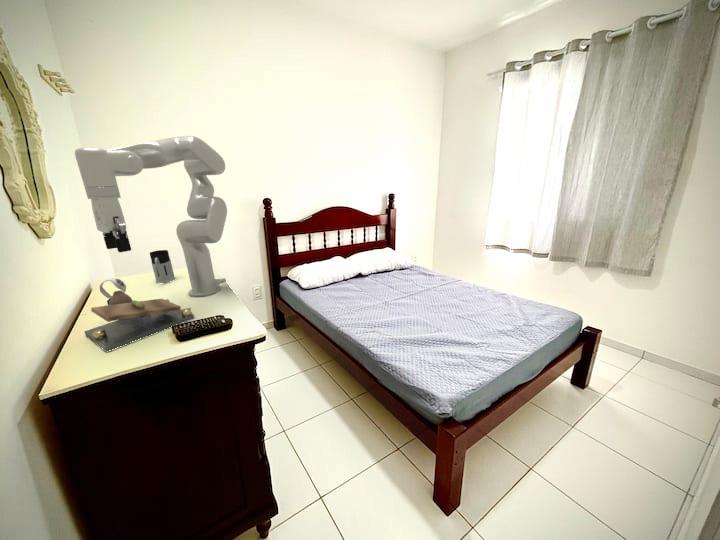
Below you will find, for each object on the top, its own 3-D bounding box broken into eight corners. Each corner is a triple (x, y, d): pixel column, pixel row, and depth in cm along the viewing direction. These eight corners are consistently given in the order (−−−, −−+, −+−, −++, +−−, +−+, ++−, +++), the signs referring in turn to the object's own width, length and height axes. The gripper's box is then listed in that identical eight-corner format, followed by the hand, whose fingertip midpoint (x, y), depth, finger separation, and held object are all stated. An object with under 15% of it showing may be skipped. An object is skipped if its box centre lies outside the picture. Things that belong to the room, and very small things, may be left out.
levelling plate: (161, 302, 108) (161, 294, 108) (180, 310, 101) (180, 301, 100) (91, 312, 91) (91, 302, 91) (107, 322, 84) (107, 312, 83)
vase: (110, 318, 104) (102, 296, 101) (115, 311, 110) (108, 290, 107) (133, 314, 107) (127, 292, 104) (137, 307, 113) (131, 286, 110)
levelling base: (168, 307, 113) (165, 294, 111) (194, 318, 102) (191, 304, 101) (85, 335, 93) (80, 320, 91) (107, 352, 83) (101, 335, 81)
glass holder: (177, 277, 150) (170, 249, 145) (172, 285, 137) (165, 255, 133) (157, 279, 146) (150, 251, 142) (151, 288, 134) (142, 257, 129)
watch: (128, 305, 116) (120, 279, 112) (103, 309, 113) (94, 282, 109) (132, 300, 121) (125, 275, 117) (108, 304, 117) (100, 278, 114)
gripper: (78, 194, 87) (94, 249, 92) (96, 193, 77) (114, 255, 82) (109, 193, 93) (123, 245, 98) (129, 192, 83) (144, 250, 88)
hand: (119, 249), depth 90 cm, fingers open, 9 cm apart
